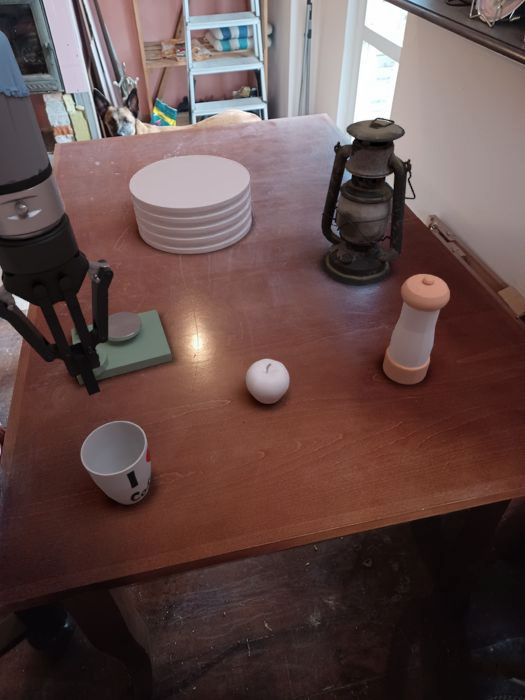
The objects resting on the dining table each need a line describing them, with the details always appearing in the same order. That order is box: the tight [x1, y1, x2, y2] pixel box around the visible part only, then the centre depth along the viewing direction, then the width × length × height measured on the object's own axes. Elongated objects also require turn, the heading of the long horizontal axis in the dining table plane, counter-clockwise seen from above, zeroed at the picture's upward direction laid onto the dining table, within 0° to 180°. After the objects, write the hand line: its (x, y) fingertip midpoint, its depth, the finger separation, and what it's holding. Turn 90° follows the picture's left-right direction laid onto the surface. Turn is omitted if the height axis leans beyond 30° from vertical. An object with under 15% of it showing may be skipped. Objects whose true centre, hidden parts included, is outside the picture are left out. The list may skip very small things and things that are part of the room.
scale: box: [70, 309, 173, 386], centre depth 85 cm, size 16×14×4 cm
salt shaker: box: [382, 273, 451, 385], centre depth 75 cm, size 7×7×19 cm
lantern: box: [320, 117, 417, 287], centre depth 96 cm, size 19×19×30 cm
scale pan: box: [73, 311, 142, 341], centre depth 86 cm, size 12×9×1 cm
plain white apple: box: [245, 358, 291, 405], centre depth 76 cm, size 7×7×8 cm
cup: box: [80, 420, 152, 505], centre depth 63 cm, size 8×8×10 cm
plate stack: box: [128, 154, 253, 255], centre depth 115 cm, size 28×28×12 cm
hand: (92, 386), depth 61 cm, fingers closed
